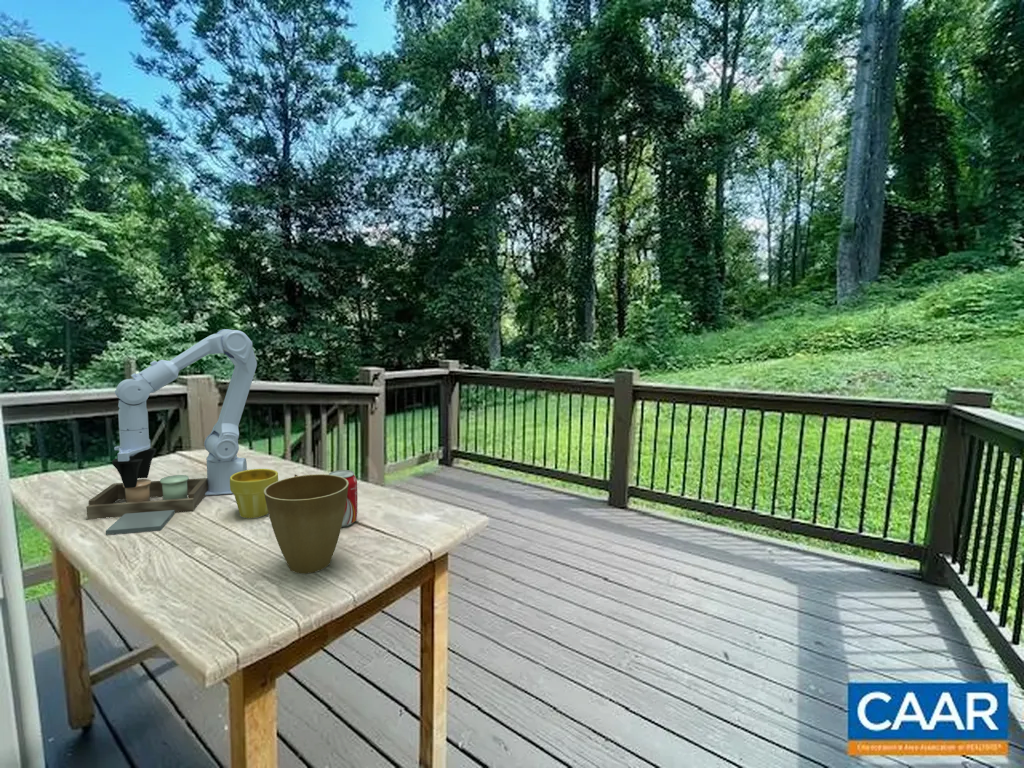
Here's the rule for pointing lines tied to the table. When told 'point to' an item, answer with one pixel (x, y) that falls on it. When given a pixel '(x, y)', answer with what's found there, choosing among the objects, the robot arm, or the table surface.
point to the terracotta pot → (138, 491)
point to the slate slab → (141, 522)
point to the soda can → (349, 496)
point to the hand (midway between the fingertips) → (136, 482)
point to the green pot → (174, 487)
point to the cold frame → (106, 507)
